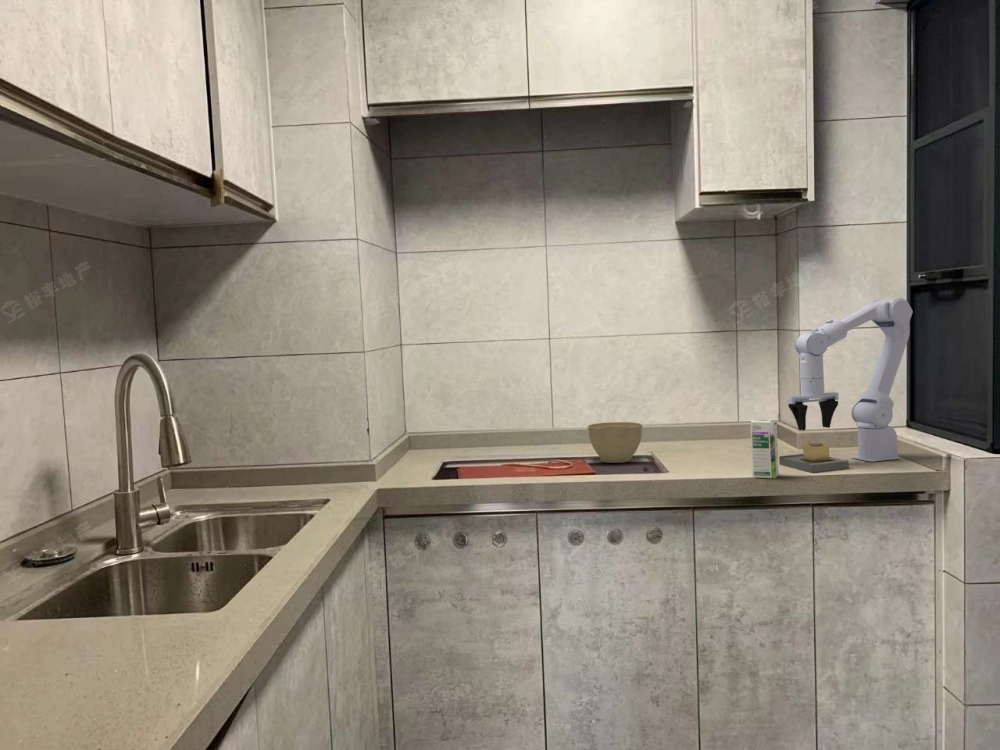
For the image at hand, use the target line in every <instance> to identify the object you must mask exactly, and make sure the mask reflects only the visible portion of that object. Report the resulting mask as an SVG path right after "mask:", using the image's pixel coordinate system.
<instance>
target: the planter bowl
mask: <svg viewBox="0 0 1000 750" xmlns="http://www.w3.org/2000/svg"><path fill="white" fill-rule="evenodd" d="M587 430H588V435H589V441H590V443H591V446H592V448H593V450H594V451H595V453H596V454H597V455H598V457H599V460H600V462H603V463H609V464H610V463H614V464H617V463H623V464H624V463H627V462H631V461H632V460H633V457H634V455H635V453H636V452H637V450H638V448H639V446H640V444H641V441H642V440H641V439H642V434H643V433H642V430H643V423H639V422H630V421H618V422H617V421H615V422H612V421H611V422H599V423H598V422H597V423H592V424H588V426H587Z"/></svg>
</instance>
